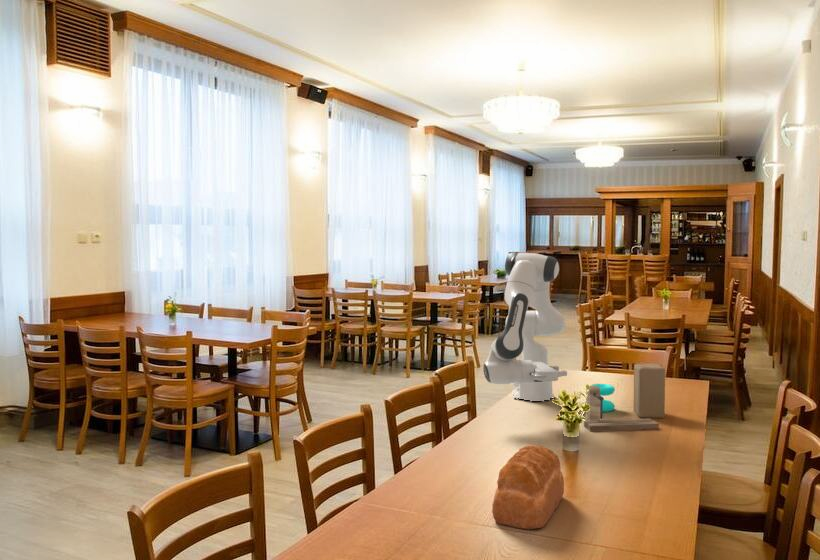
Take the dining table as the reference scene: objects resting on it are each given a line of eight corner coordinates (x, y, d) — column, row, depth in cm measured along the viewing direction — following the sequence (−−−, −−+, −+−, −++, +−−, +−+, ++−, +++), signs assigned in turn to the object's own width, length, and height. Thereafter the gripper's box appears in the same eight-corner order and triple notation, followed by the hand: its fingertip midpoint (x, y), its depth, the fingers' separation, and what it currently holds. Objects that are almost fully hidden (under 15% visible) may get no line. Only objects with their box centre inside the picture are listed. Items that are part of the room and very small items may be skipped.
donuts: (591, 388, 272) (587, 382, 282) (591, 412, 273) (587, 406, 283) (617, 388, 272) (612, 383, 281) (616, 412, 272) (611, 406, 282)
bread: (488, 524, 168) (488, 463, 167) (518, 488, 192) (518, 435, 191) (543, 534, 162) (543, 471, 161) (567, 496, 186) (567, 441, 185)
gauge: (585, 421, 259) (586, 385, 259) (595, 421, 260) (596, 385, 259) (596, 429, 249) (596, 392, 248) (606, 429, 249) (607, 392, 248)
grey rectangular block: (658, 412, 273) (658, 363, 271) (665, 418, 263) (665, 368, 261) (632, 411, 274) (633, 363, 272) (638, 418, 264) (639, 367, 262)
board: (583, 426, 253) (583, 420, 253) (650, 423, 256) (650, 418, 256) (590, 431, 246) (590, 425, 246) (658, 428, 249) (658, 423, 249)
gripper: (534, 368, 243) (571, 367, 245) (519, 359, 264) (554, 358, 265) (534, 385, 244) (571, 384, 245) (519, 374, 264) (554, 374, 265)
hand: (562, 370), depth 255 cm, fingers open, 8 cm apart
